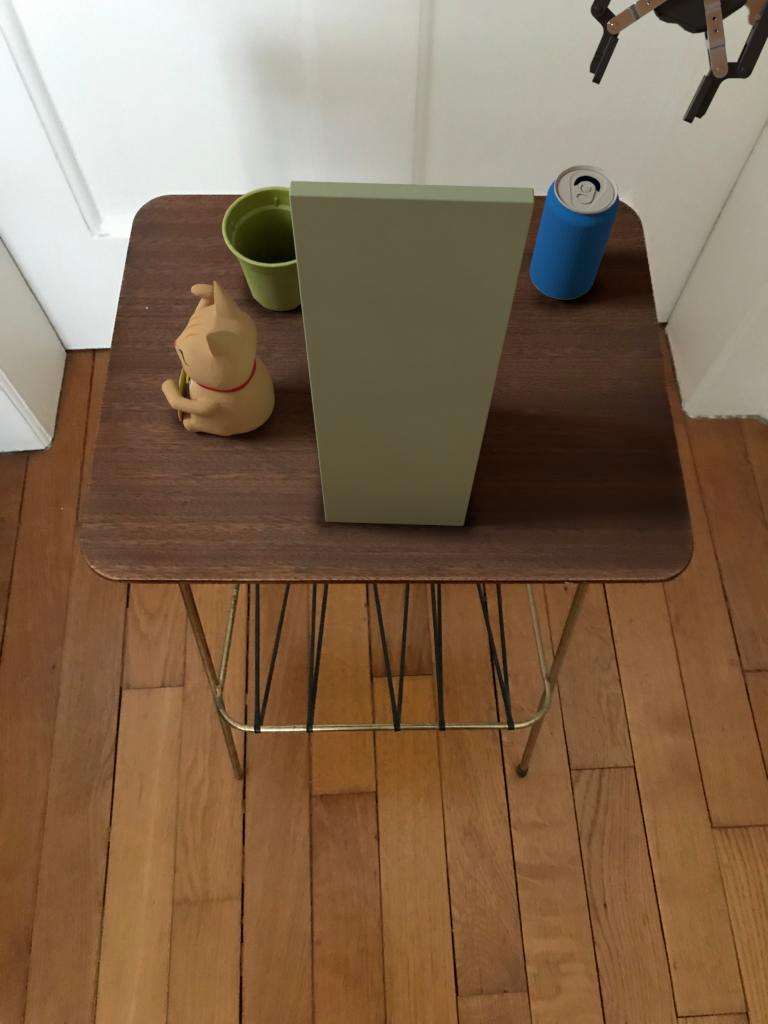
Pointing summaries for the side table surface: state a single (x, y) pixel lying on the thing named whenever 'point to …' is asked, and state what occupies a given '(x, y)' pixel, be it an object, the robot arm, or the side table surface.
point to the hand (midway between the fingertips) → (641, 102)
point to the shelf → (404, 337)
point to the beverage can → (574, 231)
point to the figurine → (220, 369)
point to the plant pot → (265, 246)
